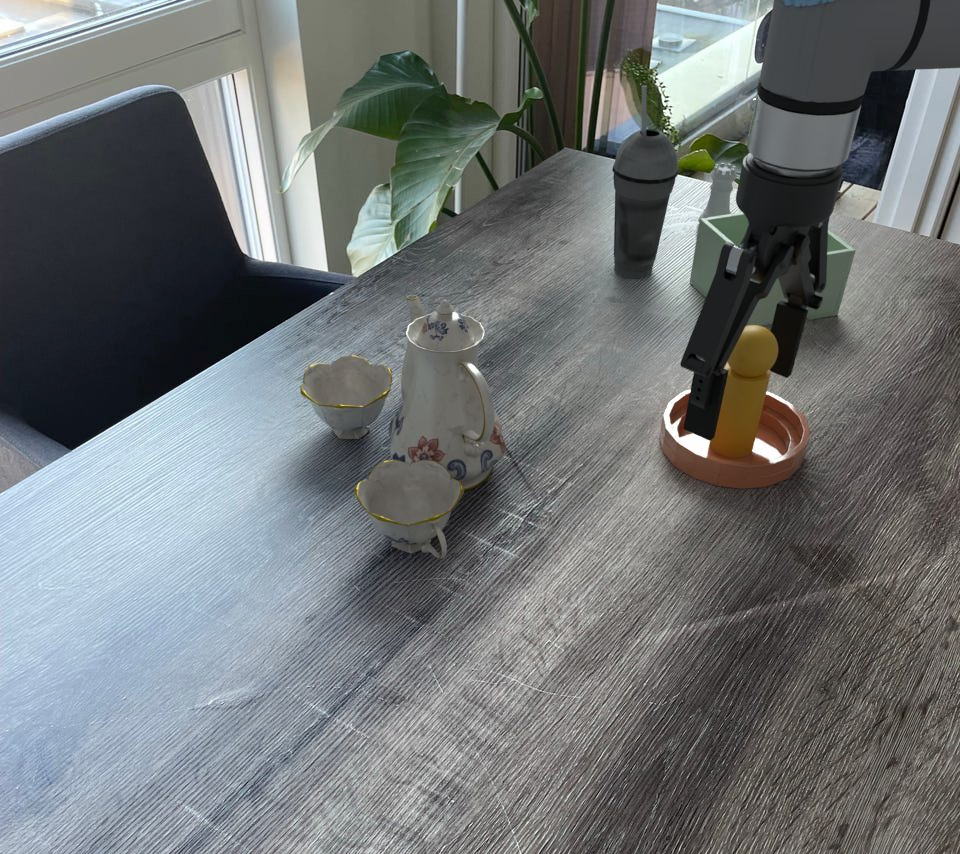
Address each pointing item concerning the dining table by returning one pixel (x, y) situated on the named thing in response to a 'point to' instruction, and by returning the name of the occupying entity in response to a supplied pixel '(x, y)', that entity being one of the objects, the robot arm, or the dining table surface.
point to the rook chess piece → (720, 191)
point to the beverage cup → (641, 197)
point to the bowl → (764, 466)
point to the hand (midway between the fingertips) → (739, 401)
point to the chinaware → (417, 424)
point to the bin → (838, 268)
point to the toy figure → (745, 391)
